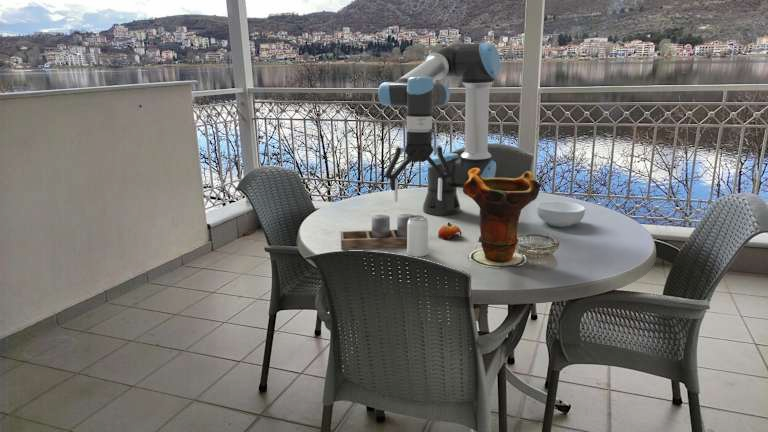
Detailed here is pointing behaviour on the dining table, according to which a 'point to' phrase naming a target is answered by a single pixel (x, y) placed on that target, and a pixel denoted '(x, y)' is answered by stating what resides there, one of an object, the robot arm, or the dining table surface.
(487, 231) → the decorative vase
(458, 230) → the tomato
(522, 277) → the dining table surface
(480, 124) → the robot arm
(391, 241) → the socket rail
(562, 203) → the cereal bowl
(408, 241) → the can
